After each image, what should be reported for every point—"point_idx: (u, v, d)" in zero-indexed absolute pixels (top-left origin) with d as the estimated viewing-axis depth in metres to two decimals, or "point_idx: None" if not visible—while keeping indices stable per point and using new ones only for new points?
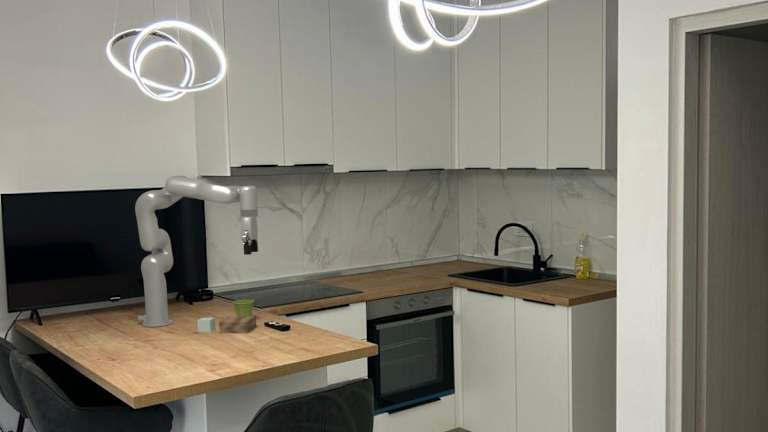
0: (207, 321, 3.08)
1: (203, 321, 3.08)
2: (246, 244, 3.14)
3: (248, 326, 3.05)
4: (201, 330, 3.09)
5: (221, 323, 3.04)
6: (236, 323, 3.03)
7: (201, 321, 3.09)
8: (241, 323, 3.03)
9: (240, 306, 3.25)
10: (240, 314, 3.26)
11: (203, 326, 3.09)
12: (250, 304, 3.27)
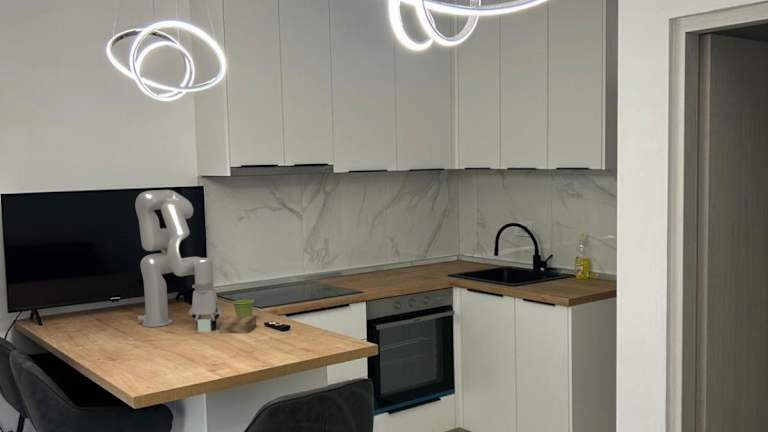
0: (207, 321, 3.08)
1: (203, 321, 3.08)
2: None
3: (248, 326, 3.05)
4: (201, 330, 3.09)
5: (221, 323, 3.04)
6: (236, 323, 3.03)
7: (201, 321, 3.08)
8: (241, 323, 3.03)
9: (240, 306, 3.25)
10: (240, 314, 3.26)
11: (203, 325, 3.08)
12: (250, 304, 3.27)
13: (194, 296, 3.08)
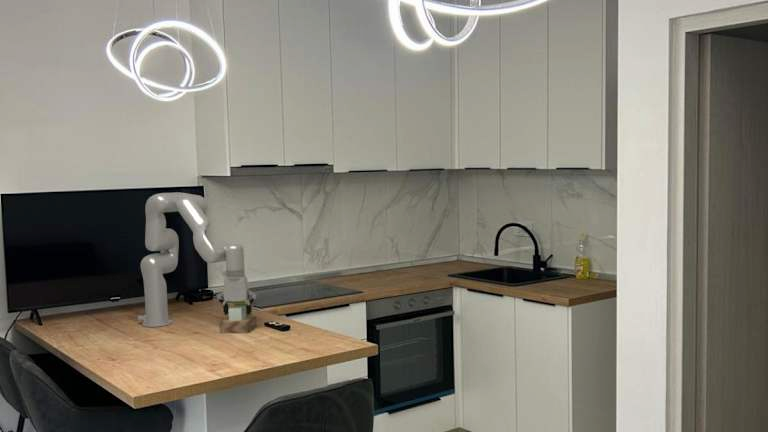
0: (238, 310, 3.06)
1: (234, 310, 3.06)
2: (251, 303, 3.08)
3: (248, 326, 3.05)
4: (232, 319, 3.07)
5: (221, 323, 3.04)
6: (236, 323, 3.03)
7: (232, 310, 3.07)
8: (241, 323, 3.03)
9: None
10: None
11: (234, 314, 3.07)
12: None
13: (225, 283, 3.06)
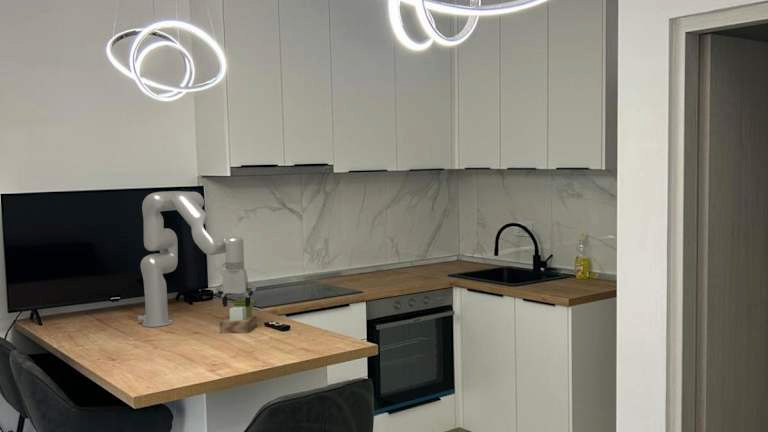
0: (239, 309, 3.06)
1: (235, 310, 3.06)
2: (250, 295, 3.08)
3: (249, 326, 3.05)
4: (233, 319, 3.07)
5: (221, 323, 3.04)
6: (236, 323, 3.03)
7: (233, 310, 3.06)
8: (241, 323, 3.03)
9: (240, 306, 3.25)
10: None
11: (235, 314, 3.06)
12: (250, 304, 3.27)
13: (225, 275, 3.06)
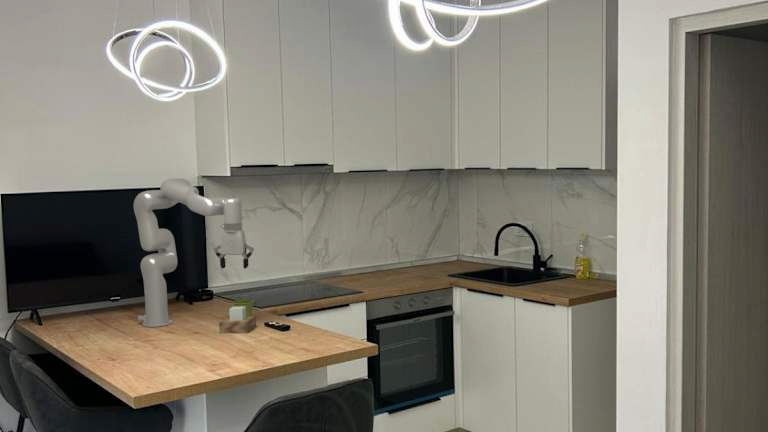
0: (239, 310, 3.06)
1: (235, 310, 3.06)
2: (248, 257, 3.07)
3: (248, 326, 3.05)
4: (233, 319, 3.07)
5: (221, 323, 3.04)
6: (236, 323, 3.03)
7: (233, 310, 3.06)
8: (241, 323, 3.03)
9: (240, 306, 3.25)
10: None
11: (235, 314, 3.06)
12: (250, 304, 3.27)
13: (223, 236, 3.05)
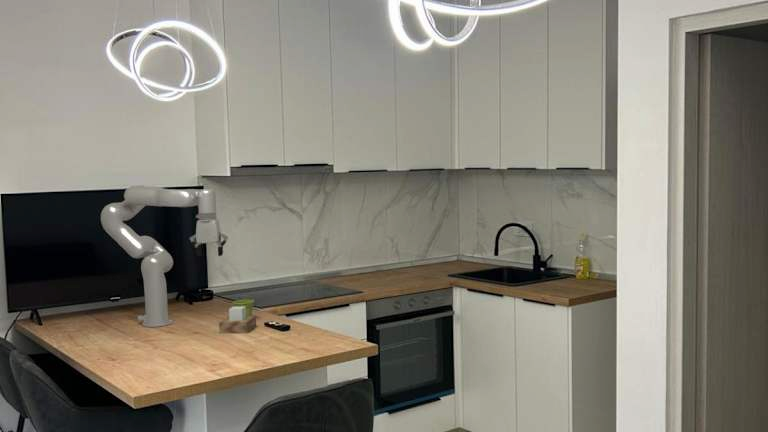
0: (239, 310, 3.06)
1: (235, 310, 3.06)
2: (223, 245, 3.22)
3: (248, 326, 3.04)
4: (233, 319, 3.06)
5: (221, 323, 3.04)
6: (236, 323, 3.03)
7: (233, 310, 3.06)
8: (241, 323, 3.03)
9: (240, 306, 3.25)
10: None
11: (235, 314, 3.06)
12: (250, 304, 3.27)
13: (198, 225, 3.20)
